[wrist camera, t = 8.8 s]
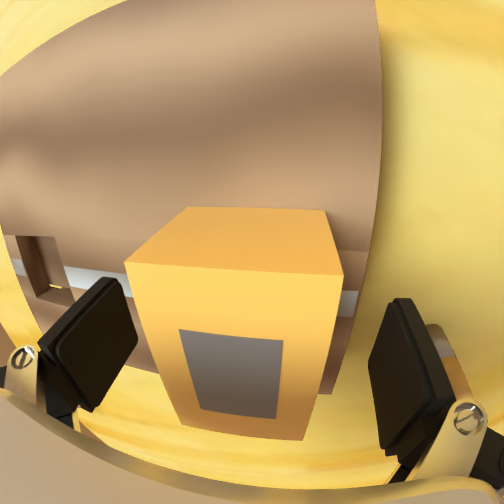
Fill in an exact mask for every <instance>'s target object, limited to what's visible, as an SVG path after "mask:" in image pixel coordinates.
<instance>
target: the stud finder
mask: <svg viewBox="0 0 504 504" xmlns="http://www.w3.org/2000/svg"><path fill="white" fill-rule="evenodd" d="M124 264H125V268H126V272H127V276H128V280H129V283H130V287H131V291H132V294H133V298H134V301H135V305H136V308H137V311H138V315H139V318H140V321H141V324H142V327H143V330H144V333H145V336H146V339H147V342H148V345H149V347H150V350H151V353H152V356H153V358H154V361H155V364H156V366H157V369H158V371H159V374H160V376H161V379H162V381H163V384H164V386H165V388H166V391H167V393H168V396H169V398H170V400H171V402H172V405H173V407H174V409H175V411H176V413H177V415H178V418H179V420H180V422H181V424H182V425H186V426H190V427H195V428H200V429H205V430H210V431H215V432H221V433H227V434H233V435H240V436H248V437H257V438H267V439H280V440H299V441H303V438H304V435H305V432H306V429H307V426H308V423H309V420H310V417H311V413H312V410H313V407H314V404H315V400H316V397H317V393H318V390H319V386H320V383H321V379H322V375H323V371H324V368H325V364H326V360H327V356H328V352H329V347H330V343H331V339H332V334H333V330H334V325H335V320H336V316H337V311H338V306H339V300H340V295H341V289H342V284H343V278H344V274H343V271H342V267H341V263H340V260H339V256H338V253H337V249H336V246H335V243H334V239H333V236H332V233H331V229H330V226H329V223H328V220H327V217H326V214H325V211H323V210H304V209H282V208H252V207H187V208H186V209H184V210H183V211H182V212H181V213H179V214H178V215H177V216H176V217H175V218H173V219H172V220H171V221H170V222H169V223H167V224H166V225H165V226H164V227H163V228H161V229H160V230H159V231H158V232H157V233H156V234H154V235H153V236H152V237H151V238H150V239H149V240H148V241H146V242H145V243H144V244H143V245H142V246H141V247H140V248H138V249H137V250H136V251H135V252H134V253H133V254H132V255H131V256H130V257H128V258H127V259H126V260H125V261H124Z"/></svg>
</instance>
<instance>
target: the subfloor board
mask: <svg viewBox="0 0 504 504" xmlns="http://www.w3.org/2000/svg"><path fill="white" fill-rule="evenodd" d="M382 116H383V91H382V64H381V49H380V38H379V29H378V20H377V13H376V6H375V0H127V1H124V2H122V3H119V4H117V5H115V6H112V7H110V8H108V9H105V10H103V11H101V12H99V13H97V14H95V15H92V16H90V17H88V18H86V19H84V20H83V21H81V22H79V23H77V24H75V25H73V26H71V27H70V28H68V29H66V30H64V31H63V32H61V33H59V34H58V35H56V36H54V37H53V38H51V39H50V40H48V41H47V42H45V43H43V44H42V45H41V46H39V47H38V48H36V49H35V50H33V51H32V52H30V53H29V54H28V55H26V56H25V57H24V58H22V59H21V60H20V61H18V62H17V63H16V64H15V65H13V66H12V67H11V68H10V69H8V70H7V71H6V72H5V73H4V74H3V75H1V76H0V225H1V229H2V232H3V236H4V240H5V243H6V246H7V250H8V253H9V256H10V259H11V262H12V265H13V268H14V270H15V273H16V276H17V278H18V281H19V284H20V286H21V289H22V291H23V293H24V296H25V298H26V300H27V303H28V305H29V307H30V309H31V311H32V314H33V316H34V318H35V320H36V322H37V324H38V326H39V328H40V330H41V332H42V334H43V335H44V334H45V333H46V332H47V331H48V330H49V329H50V328H51V327H52V326H53V324H54V323H55V322H56V321H57V320H58V319H59V318H60V317H61V316H62V315H63V314H64V313H65V312H66V311H67V310H68V309H69V308H70V307H71V306H72V305H73V304H74V303H75V302H76V301H77V300H78V299H79V298H80V297H81V296H82V295H83V294H84V293H85V292H86V291H87V290H88V289H89V288H90V287H91V286H92V285H93V284H94V283H95V282H97V281H98V280H99V279H100V278H101V277H103V276H105V277H113V278H116V279H117V280H118V281H119V283H121V285H122V288H123V291H124V295H125V298H126V301H127V304H128V308H129V311H130V314H131V317H132V320H133V323H134V326H135V329H136V332H137V335H138V343H137V345H136V347H135V348H134V350H133V351H132V353H131V355H130V356H129V358H128V359H127V361H126V362H125V364H124V365H127V366H131V367H134V368H138V369H142V370H146V371H150V372H154V373H158V374H159V371H158V369H157V366H156V364H155V361H154V358H153V356H152V353H151V350H150V347H149V345H148V342H147V339H146V336H145V333H144V330H143V327H142V324H141V321H140V318H139V315H138V311H137V308H136V305H135V301H134V298H133V294H132V291H131V287H130V283H129V280H128V276H127V272H126V268H125V264H124V261H125V260H126V259H127V258H128V257H130V256H131V255H132V254H133V253H134V252H135V251H136V250H137V249H138V248H140V247H141V246H142V245H143V244H144V243H145V242H146V241H148V240H149V239H150V238H151V237H152V236H153V235H154V234H156V233H157V232H158V231H159V230H160V229H161V228H163V227H164V226H165V225H166V224H167V223H169V222H170V221H171V220H172V219H173V218H175V217H176V216H177V215H178V214H179V213H181V212H182V211H183V210H184V209H186V208H187V207H252V208H282V209H304V210H323V211H325V214H326V217H327V220H328V223H329V226H330V229H331V233H332V236H333V239H334V243H335V246H336V249H337V253H338V256H339V260H340V263H341V267H342V271H343V274H344V278H343V284H342V289H341V295H340V300H339V306H338V311H337V316H336V320H335V325H334V330H333V334H332V339H331V343H330V347H329V352H328V356H327V360H326V364H325V368H324V371H323V375H322V379H321V383H320V386H319V390H318V393H317V394H331V393H332V390H333V388H334V385H335V382H336V379H337V376H338V373H339V370H340V367H341V364H342V360H343V357H344V354H345V351H346V347H347V344H348V340H349V337H350V333H351V329H352V326H353V322H354V318H355V314H356V310H357V306H358V302H359V298H360V294H361V289H362V285H363V280H364V275H365V270H366V265H367V260H368V255H369V249H370V243H371V237H372V231H373V224H374V217H375V210H376V202H377V193H378V184H379V173H380V161H381V145H382ZM49 284H52V285H57V286H61V287H62V288H61V289H60V288H55V287H51V286H50V285H49Z"/></svg>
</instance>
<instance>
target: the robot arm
mask: <svg viewBox="0 0 504 504" xmlns="http://www.w3.org/2000/svg"><path fill="white" fill-rule="evenodd" d="M37 343H38V345H39V347H40V348H41V351H40V352H38V350H37V348H36V347H35V346H34V345H31V344H26V345H22V346H20V347H18V348H17V349H15V350H14V351H13V352H12V354H11V355H10V357H9V360H8V364H7V366H4V367H1V368H0V504H504V436H502V435H500V434H499V433H497V432H495V431H493V430H492V429H490V428H488V427H487V424H488V418H487V413H486V411H485V409H484V408H483V406H482V405H481V404H480V403H478V402H477V401H476V400H473V399H470V398H463V399H460V400H458V401H457V399H456V397H455V394H454V391H453V388H452V386H451V383H450V380H449V378H448V375H447V373H446V370H445V368H444V365H443V363H442V361H441V358H440V356H439V354H438V351H437V349H436V347H435V345H434V343H433V341H432V339H431V337H430V335H429V332H428V330H427V328H426V326H425V324H424V322H423V320H422V318H421V316H420V314H419V312H418V310H417V308H416V306H415V304H414V302H413V301H412V299H410V298H395V299H394V300H393V302H392V303H389V304H388V305H387V308H386V312H385V315H384V318H383V321H382V324H381V327H380V330H379V333H378V336H377V338H376V341H375V344H374V347H373V349H372V352H371V355H370V357H369V361H368V370H369V375H370V381H371V386H372V392H373V398H374V404H375V411H376V418H377V425H378V433H379V442H380V447H381V449H385V455H386V456H393V455H397V457H398V463H399V464H398V465H397V467H396V468H395V470H394V471H393V472H392V474H391V475H390V476H389V478H388V479H387V480H386V482H385V483H384V484H383V485H376V486H368V487H358V488H345V489H317V490H304V489H279V488H266V487H256V486H248V485H241V484H234V483H228V482H222V481H217V480H212V479H207V478H203V477H198V476H194V475H190V474H186V473H182V472H179V471H175V470H172V469H168V468H165V467H162V466H158V465H155V464H152V463H149V462H147V461H144V460H141V459H138V458H136V457H133V456H130V455H128V454H125V453H123V452H120V451H118V450H116V449H113V448H111V447H109V446H106V445H104V444H102V443H100V442H98V441H96V440H94V439H92V438H90V437H88V436H85V435H84V434H82V433H81V430H80V425H79V419H78V413H77V407H78V405H79V406H80V407H81V408H82V409H84V410H86V411H89V412H91V413H92V412H93V410H94V409H95V407H98V406H99V405H100V403H101V402H102V400H103V398H104V397H105V395H106V393H107V392H108V390H109V388H110V387H111V385H112V383H113V382H114V380H115V379H116V377H117V375H118V374H119V372H120V370H121V369H122V367H123V366H124V364H125V362H126V361H127V359H128V358H129V356H130V355H131V353H132V351H133V350H134V348H135V347H136V345H137V343H138V335H137V332H136V329H135V326H134V323H133V320H132V317H131V314H130V311H129V308H128V304H127V301H126V298H125V295H124V291H123V288H122V285H121V283H119V281H118V280H117V279H116V278H113V277H105V276H103V277H101V278H100V279H99V280H98V281H97V282H95V283H94V284H93V285H92V286H91V287H90V288H89V289H88V290H87V291H86V292H85V293H84V294H83V295H82V296H81V297H80V298H79V299H78V300H77V301H76V302H75V303H74V304H73V305H72V306H71V307H70V308H69V309H68V310H67V311H66V312H65V313H64V314H63V315H62V316H61V317H60V318H59V319H58V320H57V321H56V322H55V323H54V324H53V326H52V327H51V328H50V329H49V330H48V331H47V332H46V333H45V334H44V335H43V336H42V337H41V339H40V340H39V341H38V342H37Z"/></svg>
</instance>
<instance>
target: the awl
mask: <svg viewBox="0 0 504 504" xmlns="http://www.w3.org/2000/svg"><path fill="white" fill-rule="evenodd" d="M426 328H427V330H428V332H429V335H430V337H431V339H432V341H433V343H434V345H435V347H436V349H437V351H438V354H439V356H440V358H441V361H442V363H443V365H444V368H445V370H446V373H447V375H448V378H449V380H450V383H451V386H452V388H453V391H454V394H455V397H456V399H457V401H458V400H460V399H463V398H470V399H473V400H474V397H473V395H472V392H471V390H470V387H469V385H468V382H467V380H466V378H465V375H464V373H463V371H462V369H461V366H460V364H459V362H458V360H457V358H456V356H455V353H454V351H453V349H452V347H451V345H450V343H449V341H448V339H447V337H446V335H445V333H444V332H443V330H442V328H441V327H440V326H439V325H435V324H430V325H426Z"/></svg>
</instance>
